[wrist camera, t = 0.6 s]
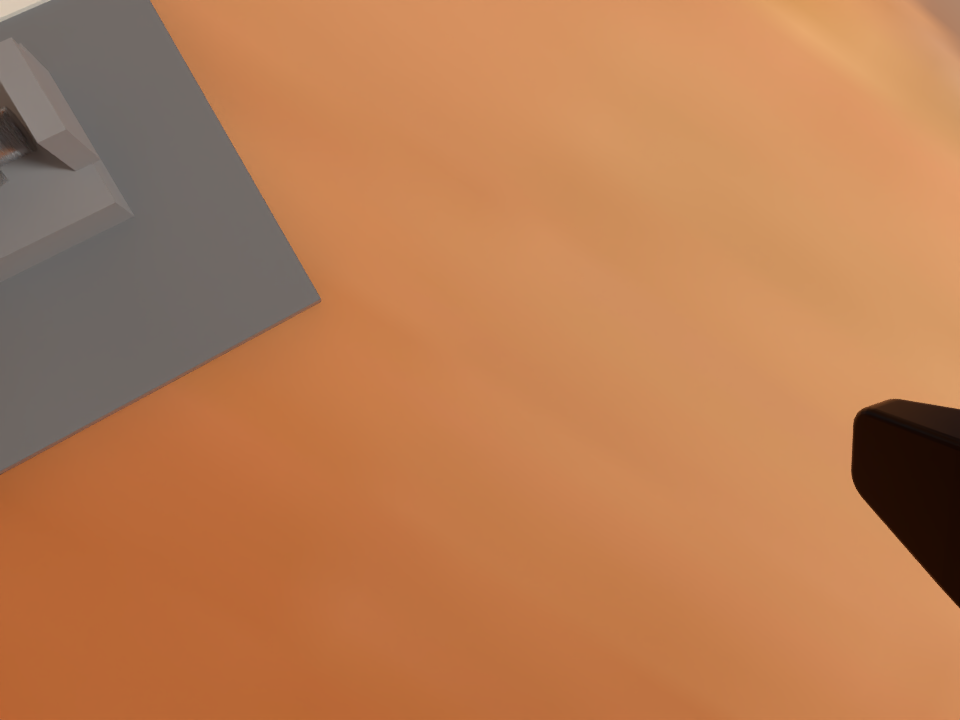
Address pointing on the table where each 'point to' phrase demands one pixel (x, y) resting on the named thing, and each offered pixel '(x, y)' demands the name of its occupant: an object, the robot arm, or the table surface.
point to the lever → (12, 140)
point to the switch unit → (120, 223)
